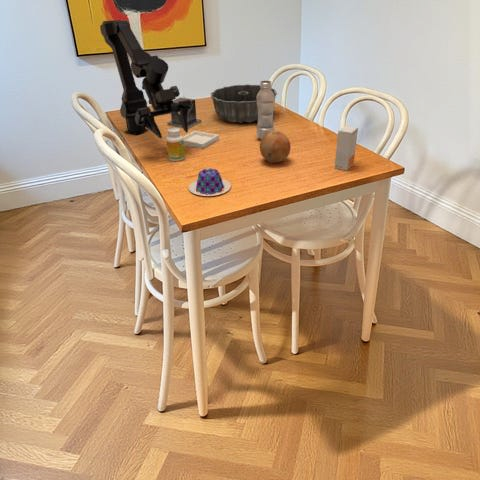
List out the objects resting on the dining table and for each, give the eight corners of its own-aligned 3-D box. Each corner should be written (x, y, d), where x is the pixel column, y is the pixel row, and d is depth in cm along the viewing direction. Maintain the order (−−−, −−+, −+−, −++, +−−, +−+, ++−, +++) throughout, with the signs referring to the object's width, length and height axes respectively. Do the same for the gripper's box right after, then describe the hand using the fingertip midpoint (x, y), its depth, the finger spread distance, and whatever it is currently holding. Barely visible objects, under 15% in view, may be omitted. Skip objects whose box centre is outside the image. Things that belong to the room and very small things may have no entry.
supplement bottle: (182, 161, 148) (179, 132, 142) (166, 160, 148) (162, 131, 143) (187, 155, 152) (184, 127, 147) (171, 154, 153) (168, 126, 148)
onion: (291, 156, 149) (292, 126, 144) (288, 168, 141) (289, 137, 136) (262, 154, 151) (262, 125, 146) (257, 166, 143) (257, 135, 138)
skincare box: (347, 171, 138) (351, 132, 132) (334, 168, 140) (337, 130, 134) (354, 164, 143) (358, 126, 136) (341, 161, 145) (345, 124, 138)
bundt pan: (218, 130, 174) (217, 103, 168) (206, 111, 195) (205, 87, 190) (284, 123, 179) (285, 97, 173) (265, 105, 200) (265, 82, 195)
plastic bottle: (262, 143, 160) (262, 85, 149) (252, 138, 165) (252, 81, 154) (277, 140, 162) (279, 82, 152) (268, 135, 168) (268, 78, 157)
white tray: (178, 144, 161) (177, 139, 160) (195, 135, 169) (194, 130, 168) (203, 149, 157) (202, 144, 156) (219, 139, 164) (219, 134, 163)
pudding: (183, 184, 134) (182, 168, 131) (221, 177, 137) (221, 160, 135) (196, 201, 124) (195, 184, 121) (237, 193, 128) (236, 176, 125)
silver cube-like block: (167, 125, 180) (164, 102, 175) (180, 118, 186) (178, 96, 182) (188, 128, 176) (186, 105, 171) (201, 122, 182) (199, 99, 177)
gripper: (132, 82, 137) (152, 127, 135) (187, 73, 145) (207, 116, 143) (127, 103, 147) (145, 145, 144) (179, 93, 155) (197, 133, 153)
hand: (174, 134), depth 146 cm, fingers open, 9 cm apart
